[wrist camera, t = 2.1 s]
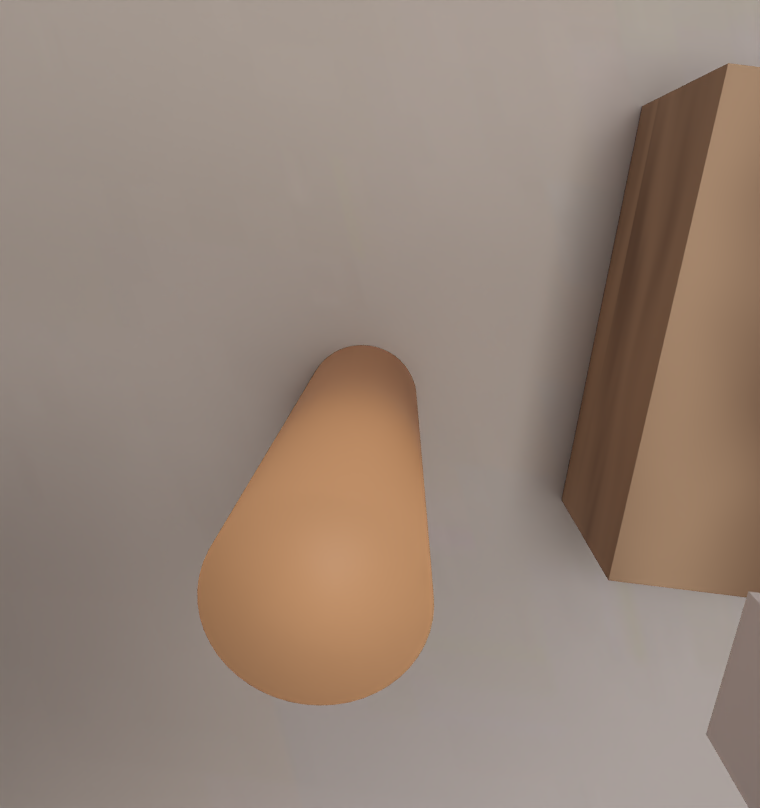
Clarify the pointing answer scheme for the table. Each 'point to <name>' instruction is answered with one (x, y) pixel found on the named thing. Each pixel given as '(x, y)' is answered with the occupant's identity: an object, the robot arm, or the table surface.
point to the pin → (328, 543)
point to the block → (679, 353)
